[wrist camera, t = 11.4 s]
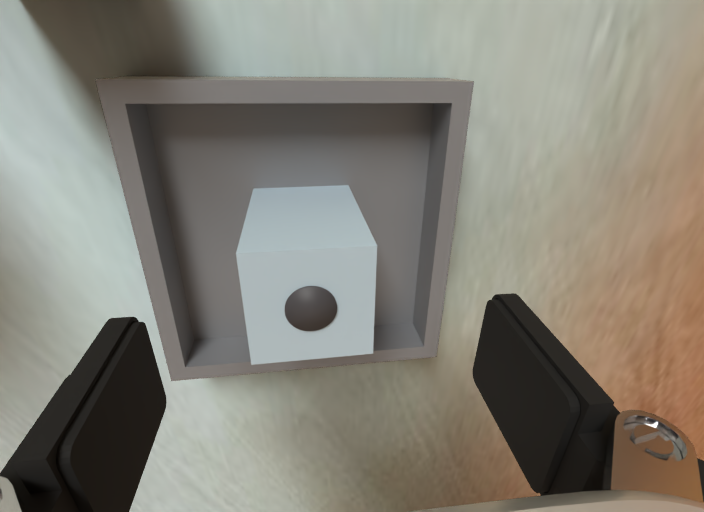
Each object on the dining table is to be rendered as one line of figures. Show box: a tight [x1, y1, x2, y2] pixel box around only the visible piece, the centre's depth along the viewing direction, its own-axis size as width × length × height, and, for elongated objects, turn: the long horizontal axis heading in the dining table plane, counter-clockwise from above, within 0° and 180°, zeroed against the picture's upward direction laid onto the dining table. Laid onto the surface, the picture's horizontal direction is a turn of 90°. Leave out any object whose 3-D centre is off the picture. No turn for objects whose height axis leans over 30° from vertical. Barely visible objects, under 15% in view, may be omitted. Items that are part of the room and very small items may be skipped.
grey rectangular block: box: [236, 185, 377, 365], centre depth 17 cm, size 4×4×7 cm
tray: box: [95, 76, 474, 381], centre depth 19 cm, size 14×14×3 cm
